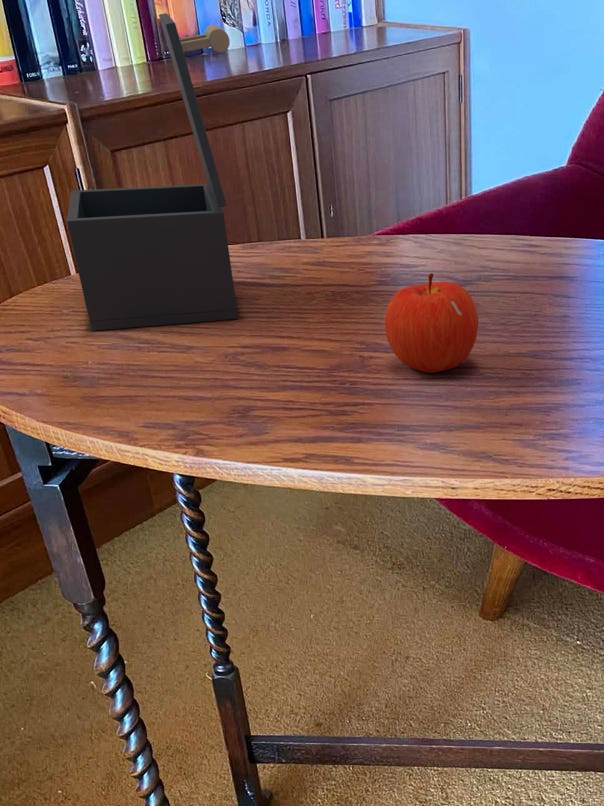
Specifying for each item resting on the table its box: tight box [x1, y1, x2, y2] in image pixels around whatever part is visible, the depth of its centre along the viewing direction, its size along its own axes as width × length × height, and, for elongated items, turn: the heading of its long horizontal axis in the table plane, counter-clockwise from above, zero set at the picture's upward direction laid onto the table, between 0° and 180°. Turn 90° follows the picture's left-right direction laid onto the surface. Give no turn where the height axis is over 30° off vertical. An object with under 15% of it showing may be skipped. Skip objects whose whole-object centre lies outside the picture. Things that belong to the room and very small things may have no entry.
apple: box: [384, 272, 479, 374], centre depth 83 cm, size 8×8×8 cm
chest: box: [66, 183, 239, 332], centre depth 96 cm, size 14×14×10 cm
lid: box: [158, 13, 231, 208], centre depth 90 cm, size 15×14×5 cm
